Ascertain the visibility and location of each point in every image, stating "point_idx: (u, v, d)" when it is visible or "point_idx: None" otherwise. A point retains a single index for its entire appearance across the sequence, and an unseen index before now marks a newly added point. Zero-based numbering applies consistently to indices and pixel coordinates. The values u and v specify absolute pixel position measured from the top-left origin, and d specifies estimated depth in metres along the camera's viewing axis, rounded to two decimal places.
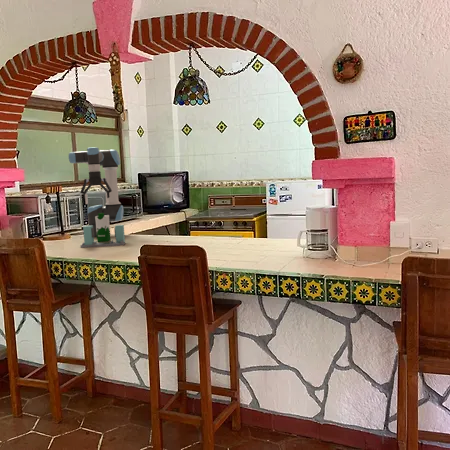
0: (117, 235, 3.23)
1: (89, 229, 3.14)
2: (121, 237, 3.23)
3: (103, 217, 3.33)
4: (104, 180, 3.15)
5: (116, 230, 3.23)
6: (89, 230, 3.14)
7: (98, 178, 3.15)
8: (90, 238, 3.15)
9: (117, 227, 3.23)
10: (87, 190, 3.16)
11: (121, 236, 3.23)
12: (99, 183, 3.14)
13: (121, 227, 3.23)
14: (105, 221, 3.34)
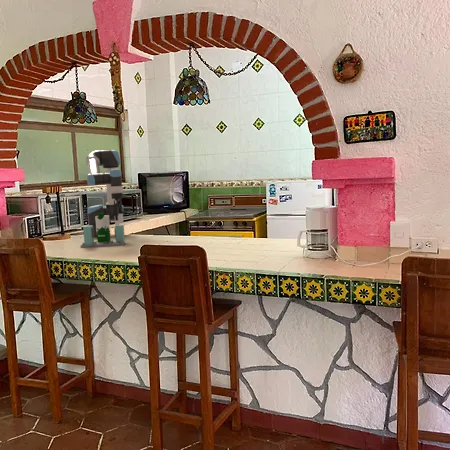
0: (117, 235, 3.23)
1: (89, 229, 3.14)
2: (121, 237, 3.23)
3: (103, 217, 3.33)
4: (114, 202, 3.17)
5: (116, 230, 3.23)
6: (89, 230, 3.14)
7: (115, 200, 3.20)
8: (90, 238, 3.15)
9: (117, 227, 3.23)
10: (119, 210, 3.29)
11: (121, 236, 3.23)
12: None
13: (121, 227, 3.23)
14: (105, 221, 3.34)
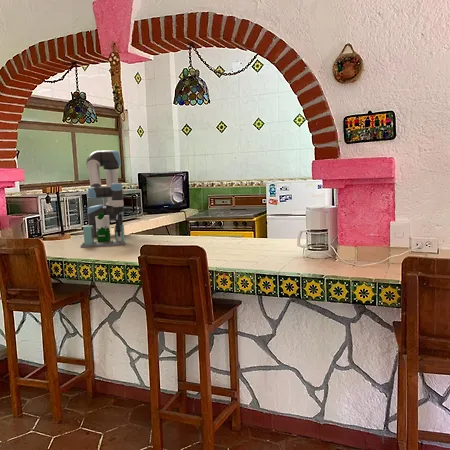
0: None
1: (89, 229, 3.14)
2: None
3: (103, 217, 3.33)
4: (115, 218, 3.19)
5: None
6: (89, 230, 3.14)
7: (116, 213, 3.21)
8: (90, 238, 3.15)
9: None
10: None
11: (121, 236, 3.23)
12: None
13: (121, 227, 3.23)
14: (105, 221, 3.34)
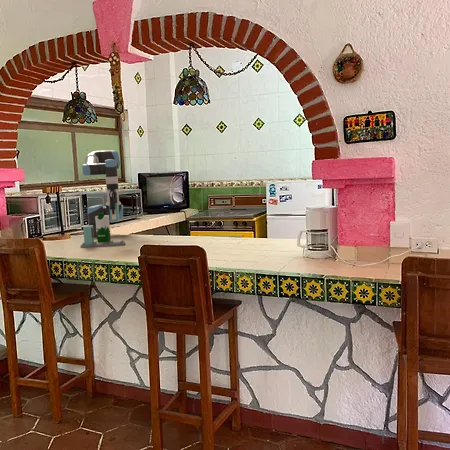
0: None
1: (89, 229, 3.14)
2: None
3: (103, 217, 3.33)
4: None
5: None
6: (89, 230, 3.14)
7: (110, 190, 3.11)
8: (90, 238, 3.15)
9: None
10: None
11: None
12: None
13: (115, 205, 3.13)
14: (105, 221, 3.34)
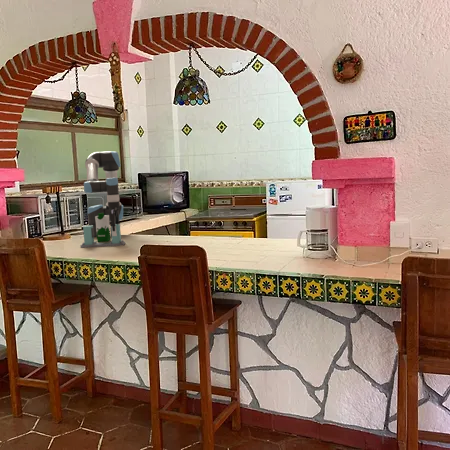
0: None
1: (89, 229, 3.14)
2: (117, 237, 3.15)
3: (103, 217, 3.33)
4: (110, 212, 3.10)
5: None
6: (89, 230, 3.14)
7: (111, 209, 3.13)
8: (90, 238, 3.15)
9: None
10: (115, 220, 3.21)
11: (117, 236, 3.15)
12: None
13: (117, 226, 3.15)
14: (105, 221, 3.34)
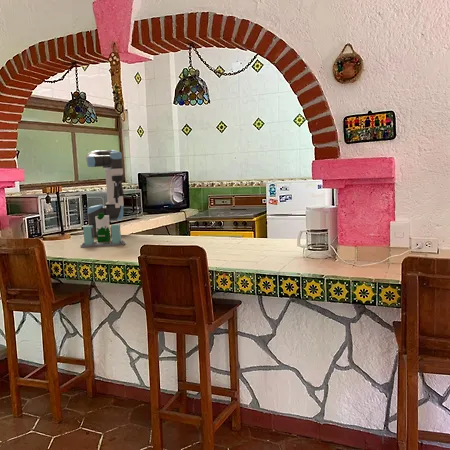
0: (113, 234, 3.15)
1: (89, 229, 3.14)
2: (117, 237, 3.15)
3: (103, 217, 3.33)
4: (114, 185, 3.16)
5: (112, 229, 3.15)
6: (89, 230, 3.14)
7: None
8: (90, 238, 3.15)
9: (113, 226, 3.14)
10: (119, 192, 3.29)
11: (117, 236, 3.15)
12: None
13: (117, 226, 3.15)
14: (105, 221, 3.34)
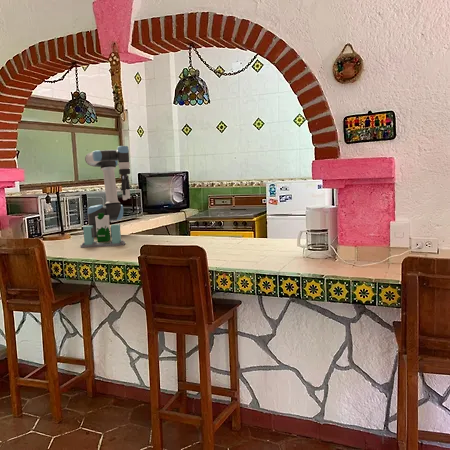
0: (113, 234, 3.15)
1: (89, 229, 3.14)
2: (117, 237, 3.15)
3: (103, 217, 3.33)
4: None
5: (112, 229, 3.15)
6: (89, 230, 3.14)
7: None
8: (90, 238, 3.15)
9: (113, 226, 3.14)
10: (126, 186, 3.39)
11: (117, 236, 3.15)
12: None
13: (117, 226, 3.15)
14: (105, 221, 3.34)
